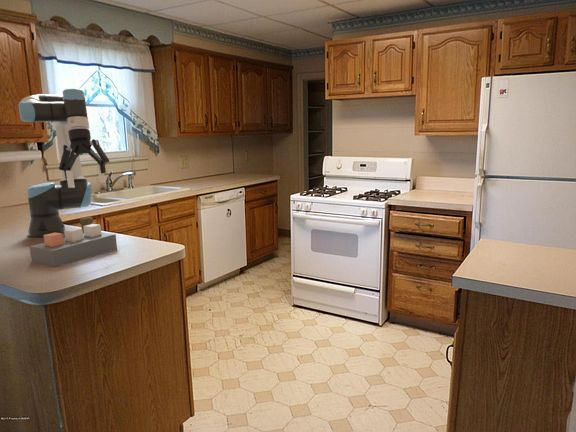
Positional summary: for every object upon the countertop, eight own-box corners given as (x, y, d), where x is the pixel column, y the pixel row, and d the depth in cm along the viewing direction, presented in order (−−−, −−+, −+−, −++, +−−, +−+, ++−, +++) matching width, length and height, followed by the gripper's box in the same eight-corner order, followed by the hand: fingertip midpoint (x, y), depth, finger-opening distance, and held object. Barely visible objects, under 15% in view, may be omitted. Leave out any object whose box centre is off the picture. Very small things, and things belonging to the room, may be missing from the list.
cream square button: (84, 235, 168) (83, 226, 168) (94, 233, 172) (93, 223, 171) (91, 237, 166) (90, 226, 166) (101, 234, 170) (100, 224, 169)
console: (31, 262, 156) (29, 246, 155) (94, 245, 178) (92, 230, 177) (55, 267, 149) (53, 250, 148) (117, 248, 171) (115, 234, 170)
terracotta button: (44, 245, 155) (43, 235, 154) (56, 242, 158) (55, 232, 158) (52, 247, 153) (50, 236, 152) (63, 244, 156) (62, 233, 156)
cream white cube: (65, 240, 162) (64, 230, 161) (76, 238, 165) (74, 227, 165) (72, 241, 159) (71, 231, 159) (83, 239, 163) (82, 228, 162)
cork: (92, 239, 187) (89, 215, 185) (99, 241, 183) (96, 216, 181) (78, 242, 182) (75, 217, 180) (85, 245, 178) (82, 219, 176)
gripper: (43, 134, 163) (51, 189, 163) (101, 122, 158) (109, 179, 158) (57, 137, 171) (65, 189, 171) (113, 125, 165) (121, 180, 166)
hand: (87, 185), depth 165 cm, fingers open, 13 cm apart
